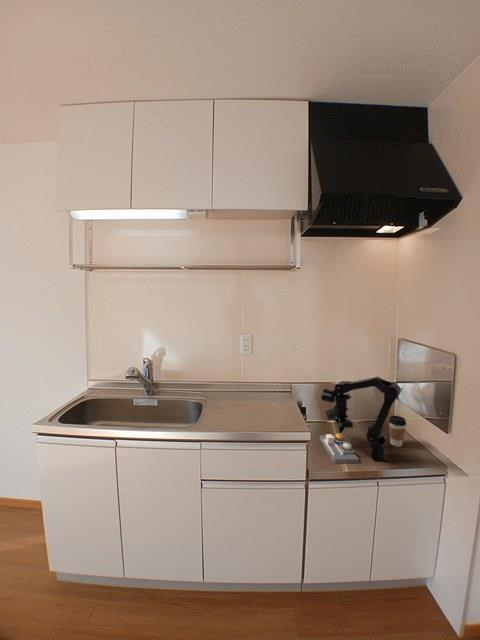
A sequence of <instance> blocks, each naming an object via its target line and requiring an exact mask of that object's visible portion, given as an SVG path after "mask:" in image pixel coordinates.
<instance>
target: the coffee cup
mask: <svg viewBox="0 0 480 640" xmlns="http://www.w3.org/2000/svg"><path fill="white" fill-rule="evenodd" d="M388 423H389V443H390V445H391V446H394V447H398V448H399V447H403V443H404V437H405V431H406V425H407V421H406V418H404V417H402V416H400V415H391V416H390V417H389V419H388Z"/></svg>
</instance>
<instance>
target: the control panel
mask: <svg viewBox="0 0 480 640" xmlns="http://www.w3.org/2000/svg"><path fill="white" fill-rule="evenodd" d="M332 436H333V437H334V444H328V443H327V442H326V434H325V435H324V434H323V435H319V440H320V442H321V444H322V445H323V447H324V448H325V450H326V452H327V453H328V455H329V457H330V458H331V460H332V462H333V463H334V464H354V463H355V464H357V463H358V464H359V463H360V462H359V457H358V456H357V455H356V451H355V450H354V448H353V446H351V450H345V449H343V443H345V442H347V443H348V441H347V440H346V438H345V437H344V440H337V439H336V434H333V435H332Z"/></svg>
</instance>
